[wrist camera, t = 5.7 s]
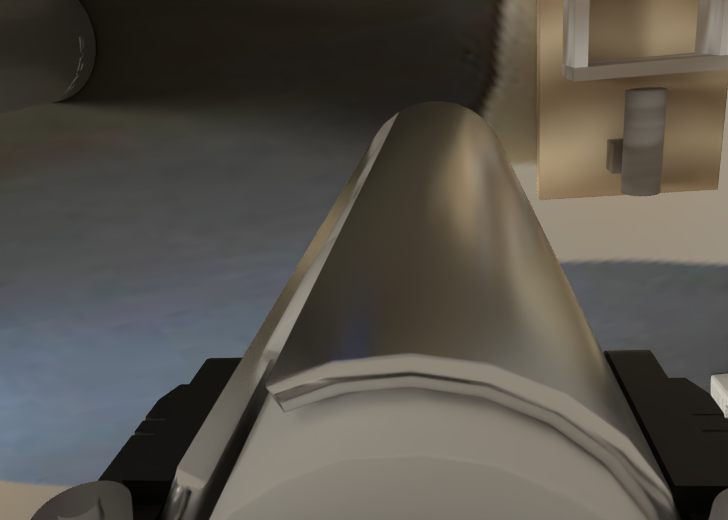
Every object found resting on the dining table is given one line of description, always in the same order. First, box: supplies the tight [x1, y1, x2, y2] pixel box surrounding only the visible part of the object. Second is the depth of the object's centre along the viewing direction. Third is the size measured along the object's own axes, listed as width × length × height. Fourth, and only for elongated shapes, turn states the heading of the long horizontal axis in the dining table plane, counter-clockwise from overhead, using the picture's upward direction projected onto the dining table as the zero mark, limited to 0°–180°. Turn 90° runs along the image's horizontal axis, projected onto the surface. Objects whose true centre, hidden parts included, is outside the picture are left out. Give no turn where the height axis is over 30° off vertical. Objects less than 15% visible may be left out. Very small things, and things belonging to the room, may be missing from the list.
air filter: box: [161, 101, 681, 520], centre depth 18 cm, size 6×6×25 cm
